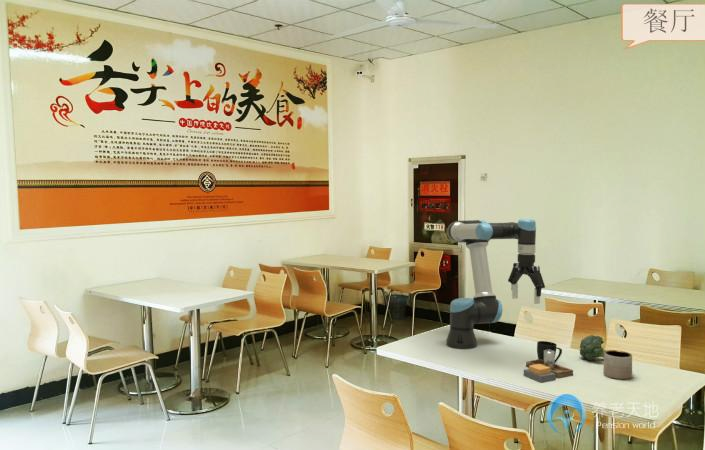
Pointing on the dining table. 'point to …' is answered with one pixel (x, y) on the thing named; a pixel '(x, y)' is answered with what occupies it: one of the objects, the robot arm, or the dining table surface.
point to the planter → (617, 364)
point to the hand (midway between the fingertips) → (525, 300)
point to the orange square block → (539, 369)
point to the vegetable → (592, 347)
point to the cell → (549, 358)
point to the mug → (544, 346)
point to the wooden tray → (558, 369)
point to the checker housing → (540, 376)
